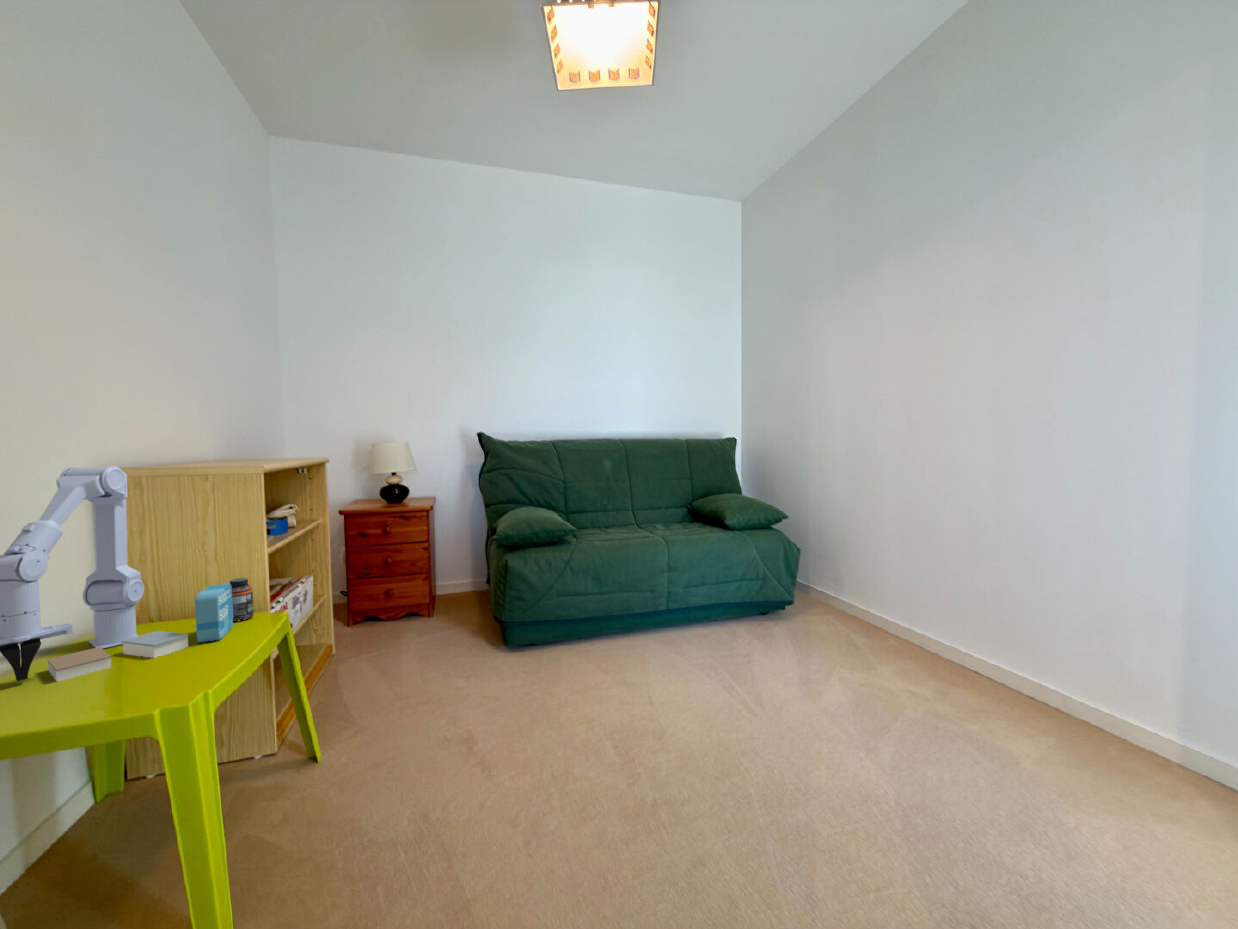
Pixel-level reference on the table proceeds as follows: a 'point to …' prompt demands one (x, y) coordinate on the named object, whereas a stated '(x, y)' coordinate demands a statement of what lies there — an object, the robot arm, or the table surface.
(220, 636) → the blue box
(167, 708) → the table surface
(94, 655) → the book walnut
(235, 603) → the supplement bottle
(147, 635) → the book grey
